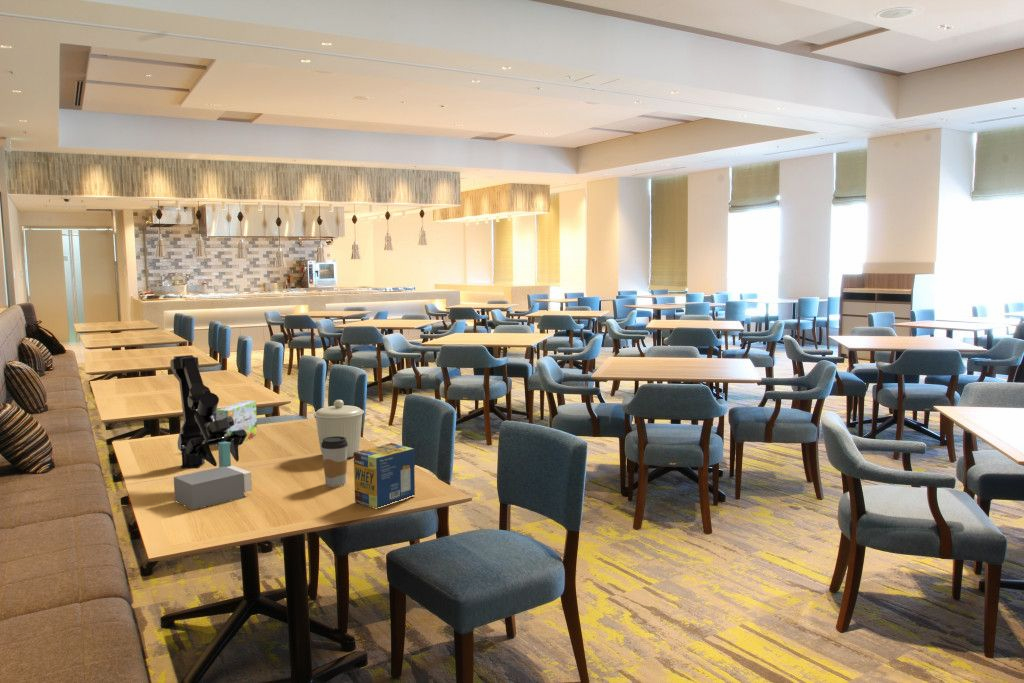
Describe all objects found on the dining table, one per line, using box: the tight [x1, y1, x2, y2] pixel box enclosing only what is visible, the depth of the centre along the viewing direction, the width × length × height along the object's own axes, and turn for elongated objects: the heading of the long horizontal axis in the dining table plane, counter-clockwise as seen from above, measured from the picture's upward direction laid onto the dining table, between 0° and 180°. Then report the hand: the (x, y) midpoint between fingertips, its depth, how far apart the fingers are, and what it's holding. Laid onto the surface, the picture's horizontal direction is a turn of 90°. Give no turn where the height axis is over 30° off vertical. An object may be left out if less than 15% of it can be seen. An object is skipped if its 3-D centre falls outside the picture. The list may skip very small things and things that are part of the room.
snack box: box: [215, 400, 258, 448], centre depth 307 cm, size 21×6×15 cm, turn 168°
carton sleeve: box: [173, 466, 245, 510], centre depth 234 cm, size 16×12×8 cm
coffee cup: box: [321, 436, 348, 488], centre depth 248 cm, size 8×8×15 cm
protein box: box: [353, 442, 416, 509], centre depth 232 cm, size 10×15×16 cm
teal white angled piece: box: [217, 441, 253, 493], centre depth 237 cm, size 17×16×13 cm
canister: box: [313, 399, 365, 459], centre depth 284 cm, size 18×18×21 cm
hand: (227, 463), depth 245 cm, fingers open, 7 cm apart
